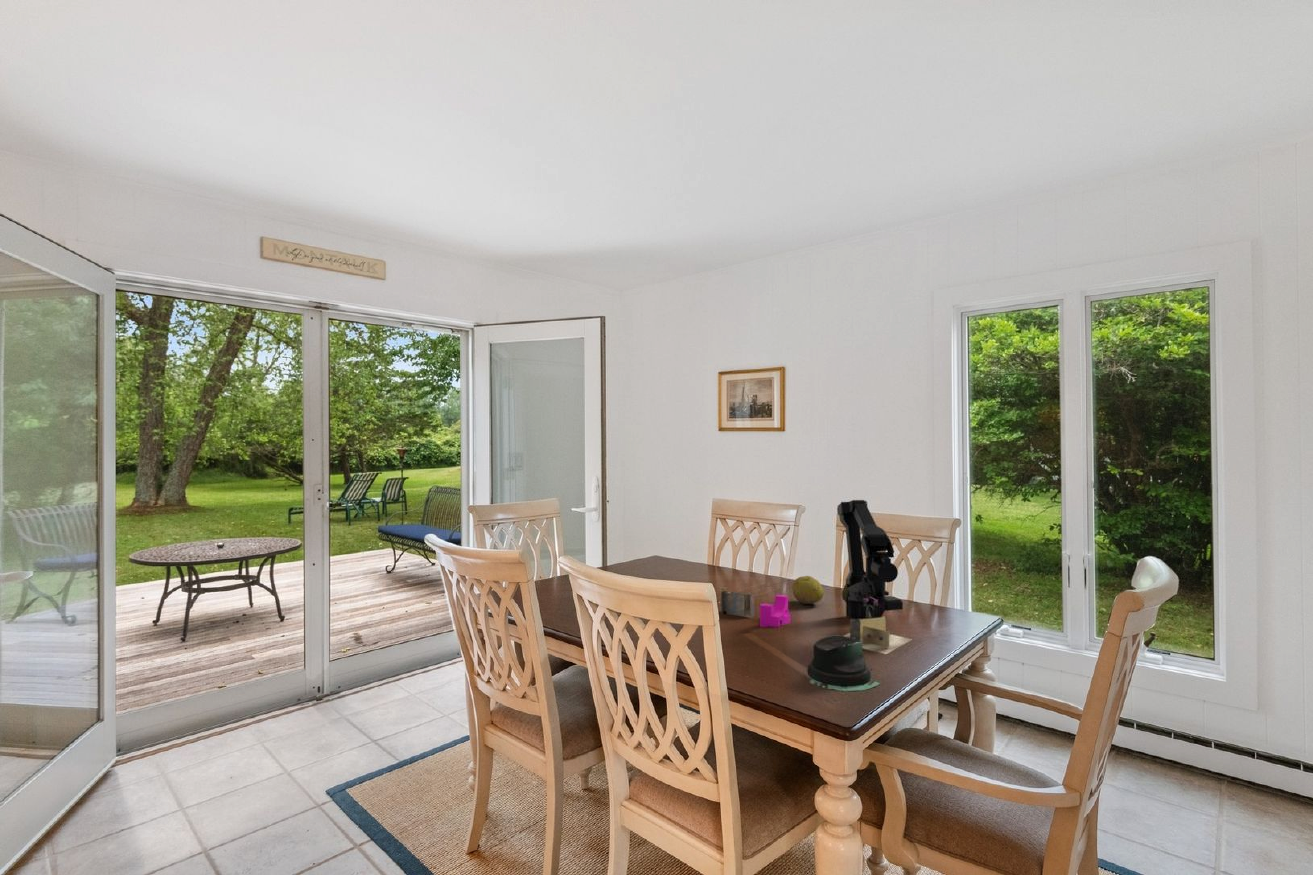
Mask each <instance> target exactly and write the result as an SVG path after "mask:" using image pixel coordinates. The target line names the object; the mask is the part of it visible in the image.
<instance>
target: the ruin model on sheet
mask: <svg viewBox="0 0 1313 875" xmlns="http://www.w3.org/2000/svg"><path fill="white" fill-rule="evenodd" d="M720 588H721V590H723V591H720V613H721V612H722V613H721V614H723V613H726V614H727V615H730V614H731V616H737V617H738V616H739V617H744V618H750V619H752V618H754V617H755V594H751V593H743V592H737V591H736V592H735V591H730V590H729V589H728V588H729V587H722V586H720ZM724 611H726V612H724Z"/></svg>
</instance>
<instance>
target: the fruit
mask: <svg viewBox="0 0 1313 875" xmlns="http://www.w3.org/2000/svg"><path fill="white" fill-rule="evenodd" d="M793 581H794V582H793V583H792V585H791V586H792V587H791V589H792V595H793V597H794V598H795V599H796V600H797V602H800V603H801V604H803V605H813V604H816V603H818V602H820V601H821V600H822V599H823V598H824V595H825V593H824V588H823V586H822V585H821V583H820V581H819V580H818V579H816V578H814V577H813V576H810V575H805V576H802V575H801V576H799V577H797V578H796V579H795V580H793Z"/></svg>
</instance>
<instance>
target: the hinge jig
mask: <svg viewBox="0 0 1313 875" xmlns="http://www.w3.org/2000/svg"><path fill="white" fill-rule="evenodd" d="M843 636H845V637H850V638H855V639H856V640H859V641H860V642H862V650H863V649H864V650H867V651H872V652H875V653H878V654H882V655H887V654H890V653H891V652H893V651H895V650H896V649H898V648H900V647H902V646H904V645H906V644H907V643H909V642H911V641H912V640H913V639H912V638H908V637H905V636H899V635H896V634H892V633H891V634H890V631H889V630H888V631H887V630H886V631H884V630H879V629H875V628H871V627H866V626H863V637H860V620H859V619H858V618H851V619H850V620H849V633H847V634H845V635H843Z"/></svg>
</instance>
